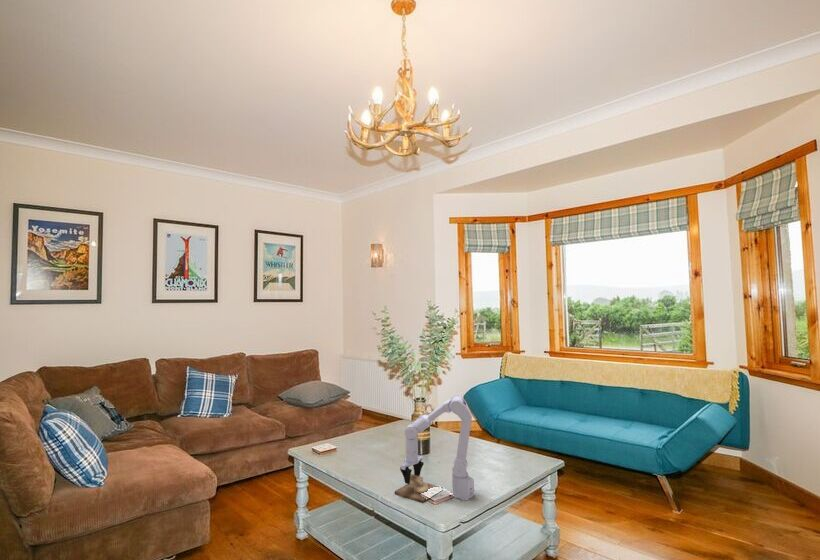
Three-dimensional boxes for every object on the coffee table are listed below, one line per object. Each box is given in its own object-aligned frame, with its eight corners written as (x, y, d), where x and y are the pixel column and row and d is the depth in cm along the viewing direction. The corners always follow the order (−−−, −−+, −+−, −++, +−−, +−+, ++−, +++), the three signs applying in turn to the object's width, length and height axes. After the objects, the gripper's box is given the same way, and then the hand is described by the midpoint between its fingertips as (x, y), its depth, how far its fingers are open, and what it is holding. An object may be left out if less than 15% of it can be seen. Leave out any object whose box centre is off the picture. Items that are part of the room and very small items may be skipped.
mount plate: (442, 490, 209) (442, 487, 209) (423, 503, 196) (423, 500, 196) (415, 482, 218) (415, 479, 218) (394, 494, 205) (394, 491, 206)
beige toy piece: (430, 490, 206) (430, 476, 206) (422, 495, 201) (422, 481, 201) (411, 484, 212) (411, 471, 213) (403, 489, 207) (403, 475, 207)
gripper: (414, 445, 217) (414, 473, 216) (395, 453, 205) (395, 483, 205) (426, 447, 213) (426, 476, 212) (407, 456, 201) (408, 487, 201)
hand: (412, 480), depth 208 cm, fingers open, 7 cm apart
